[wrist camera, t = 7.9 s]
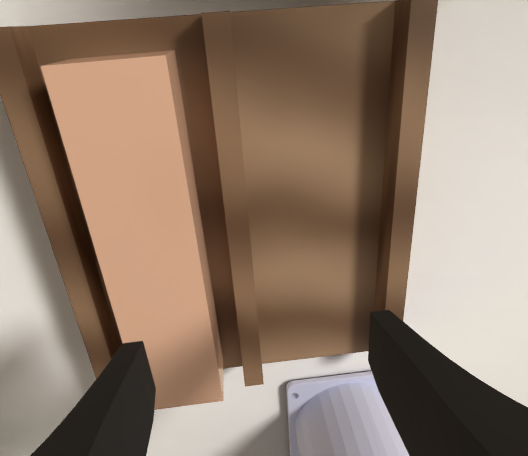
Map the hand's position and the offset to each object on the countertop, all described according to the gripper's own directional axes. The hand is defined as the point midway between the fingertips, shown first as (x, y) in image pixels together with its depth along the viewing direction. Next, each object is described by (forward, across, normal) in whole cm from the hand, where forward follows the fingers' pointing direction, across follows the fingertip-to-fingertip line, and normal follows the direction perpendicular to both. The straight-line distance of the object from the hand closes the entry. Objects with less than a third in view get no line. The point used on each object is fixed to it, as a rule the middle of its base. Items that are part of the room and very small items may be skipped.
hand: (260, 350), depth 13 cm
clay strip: (+8, +4, -1) cm, 9 cm away
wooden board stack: (+9, 0, -1) cm, 9 cm away
